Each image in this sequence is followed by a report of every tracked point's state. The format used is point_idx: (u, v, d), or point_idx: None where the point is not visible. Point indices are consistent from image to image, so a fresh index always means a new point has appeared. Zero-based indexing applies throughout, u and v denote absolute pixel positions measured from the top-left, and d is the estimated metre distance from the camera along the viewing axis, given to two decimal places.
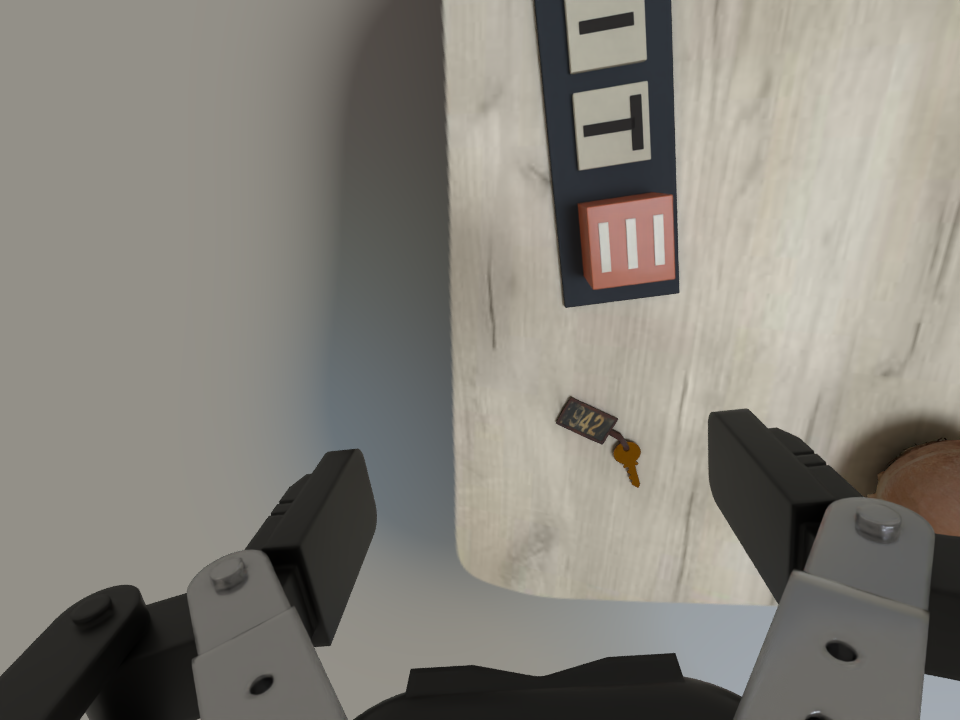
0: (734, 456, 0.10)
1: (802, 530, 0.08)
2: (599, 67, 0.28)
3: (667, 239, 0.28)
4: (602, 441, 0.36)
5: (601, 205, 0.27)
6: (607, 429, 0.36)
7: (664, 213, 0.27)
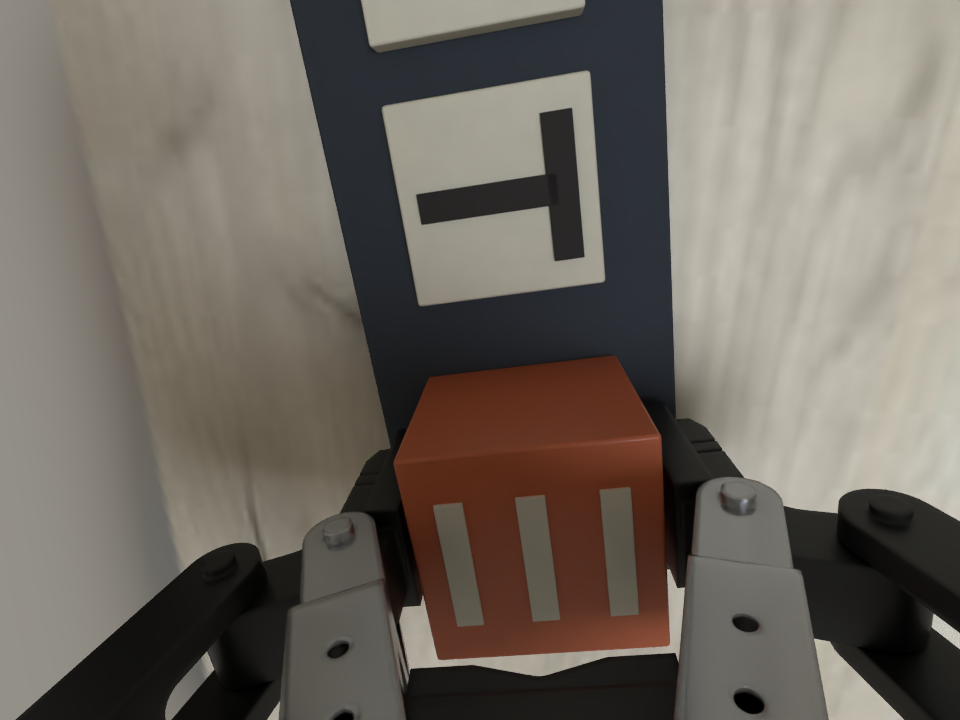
0: None
1: (684, 507, 0.09)
2: (448, 30, 0.10)
3: (645, 553, 0.09)
4: None
5: (439, 456, 0.09)
6: None
7: (634, 485, 0.09)
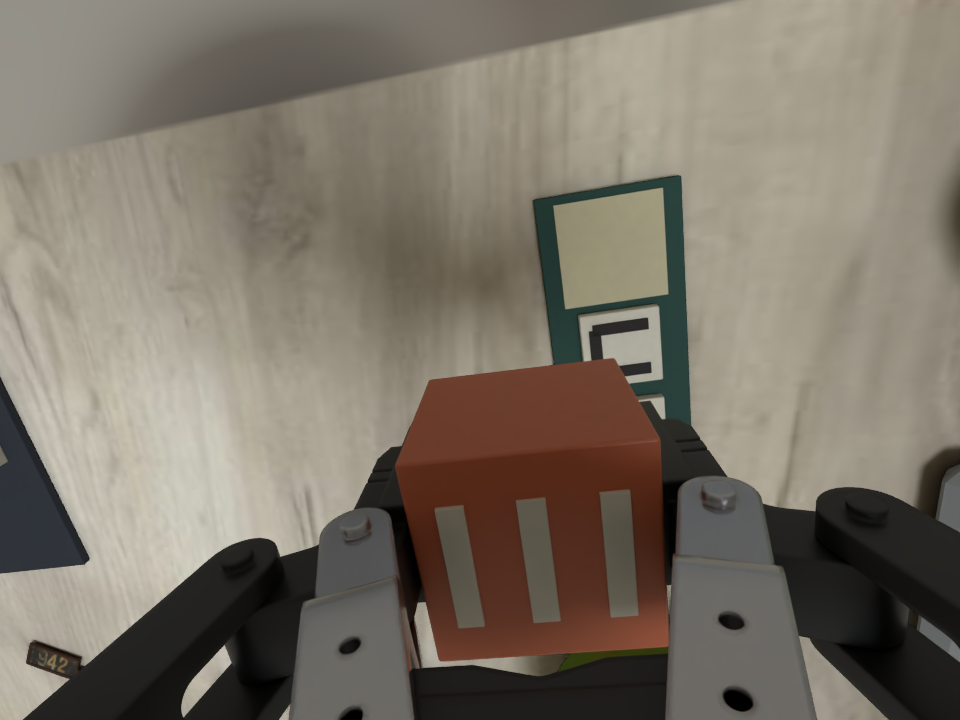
0: None
1: (667, 505, 0.09)
2: None
3: (645, 555, 0.09)
4: None
5: (440, 459, 0.09)
6: (73, 668, 0.38)
7: (633, 487, 0.09)
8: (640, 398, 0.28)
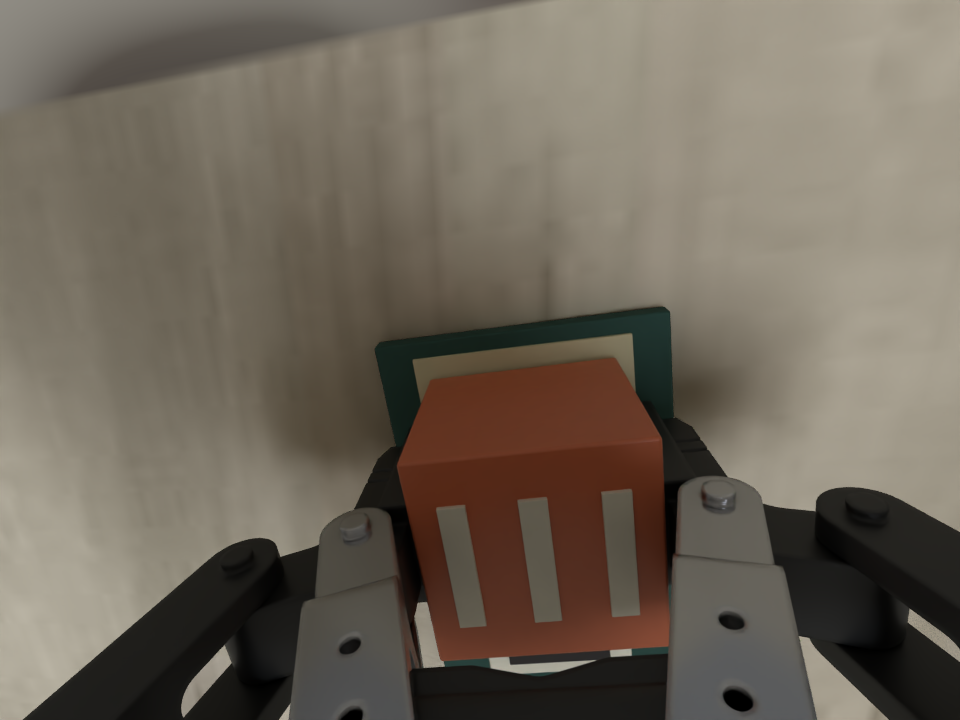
0: None
1: (667, 505, 0.09)
2: None
3: (646, 554, 0.09)
4: None
5: (442, 459, 0.09)
6: None
7: (635, 486, 0.09)
8: None
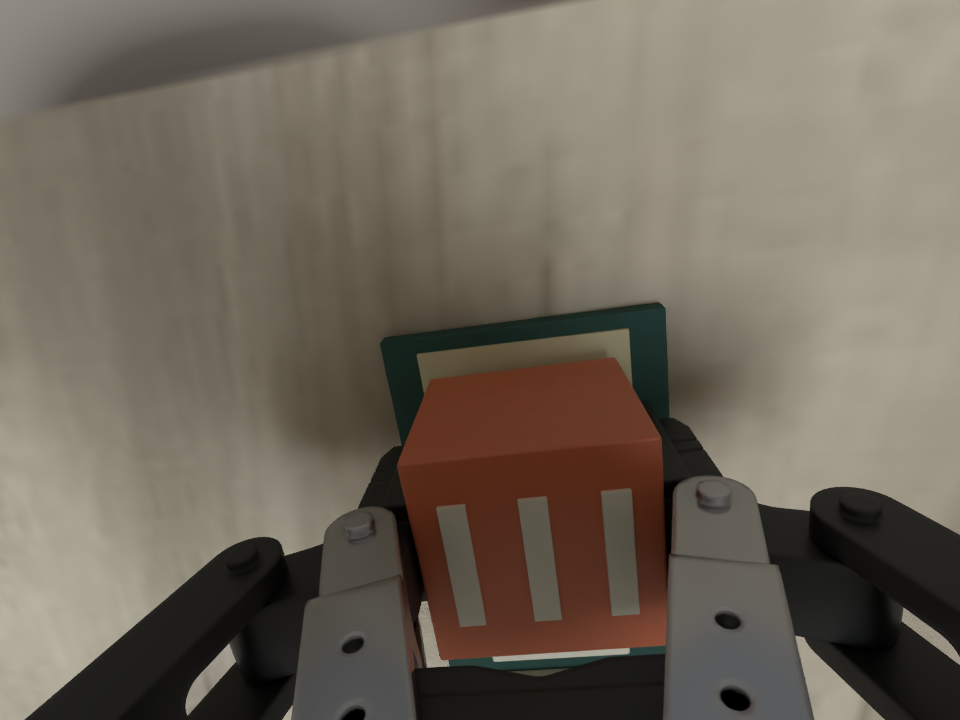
0: None
1: None
2: None
3: (646, 553, 0.09)
4: None
5: (442, 458, 0.09)
6: None
7: (634, 485, 0.09)
8: None
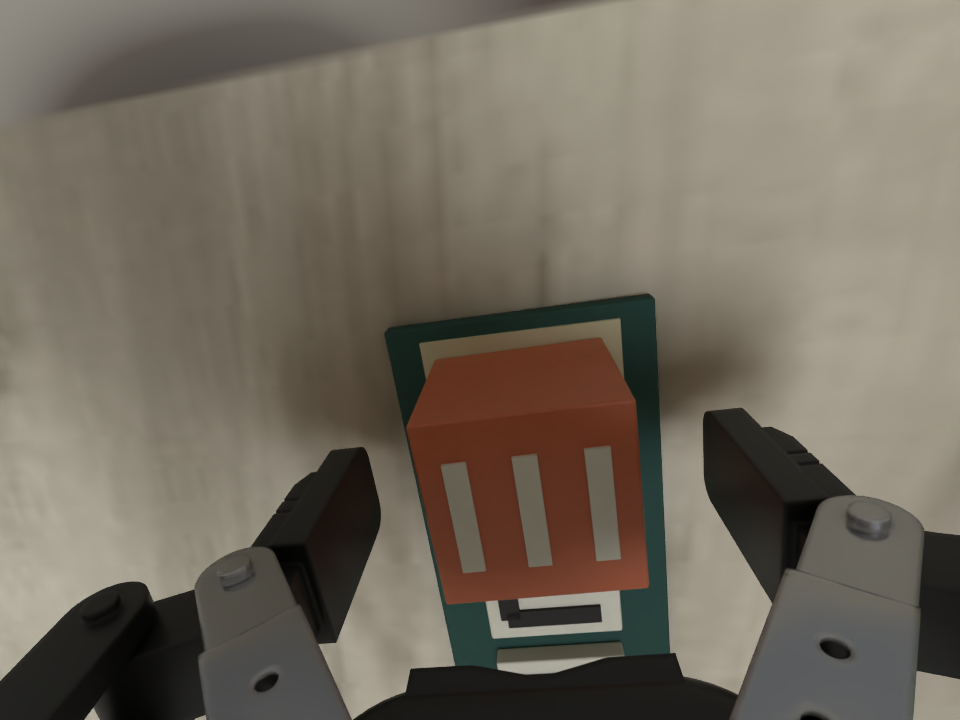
0: (728, 455, 0.10)
1: (794, 528, 0.08)
2: None
3: (625, 504, 0.10)
4: None
5: (445, 421, 0.10)
6: None
7: (613, 443, 0.10)
8: (584, 653, 0.17)
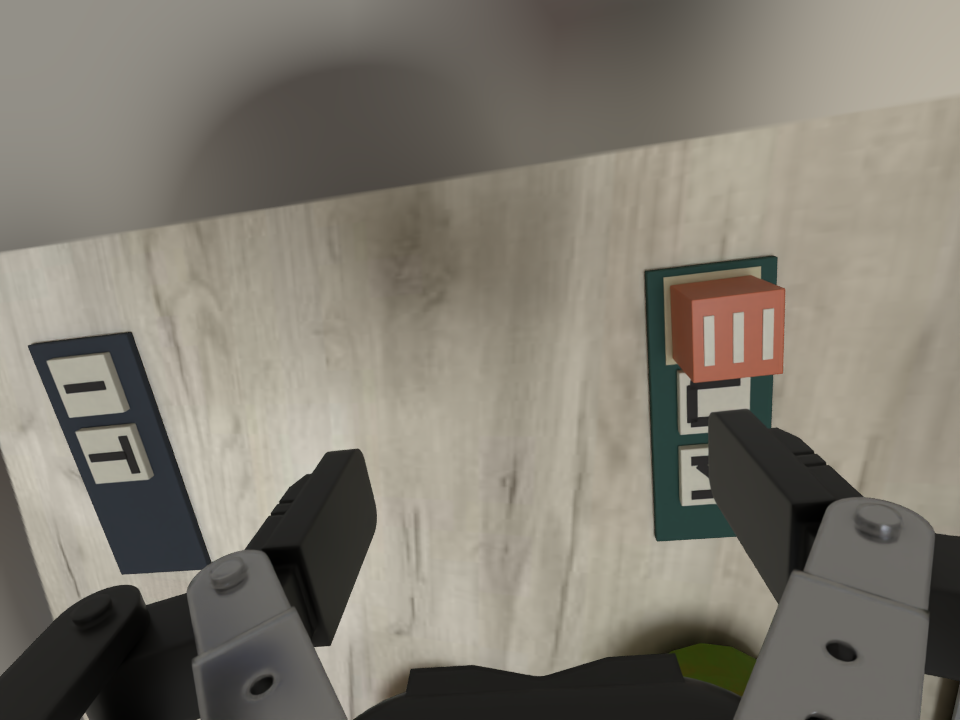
0: (734, 456, 0.10)
1: (802, 530, 0.08)
2: (89, 415, 0.35)
3: (777, 333, 0.26)
4: None
5: (707, 298, 0.26)
6: None
7: (774, 307, 0.26)
8: None
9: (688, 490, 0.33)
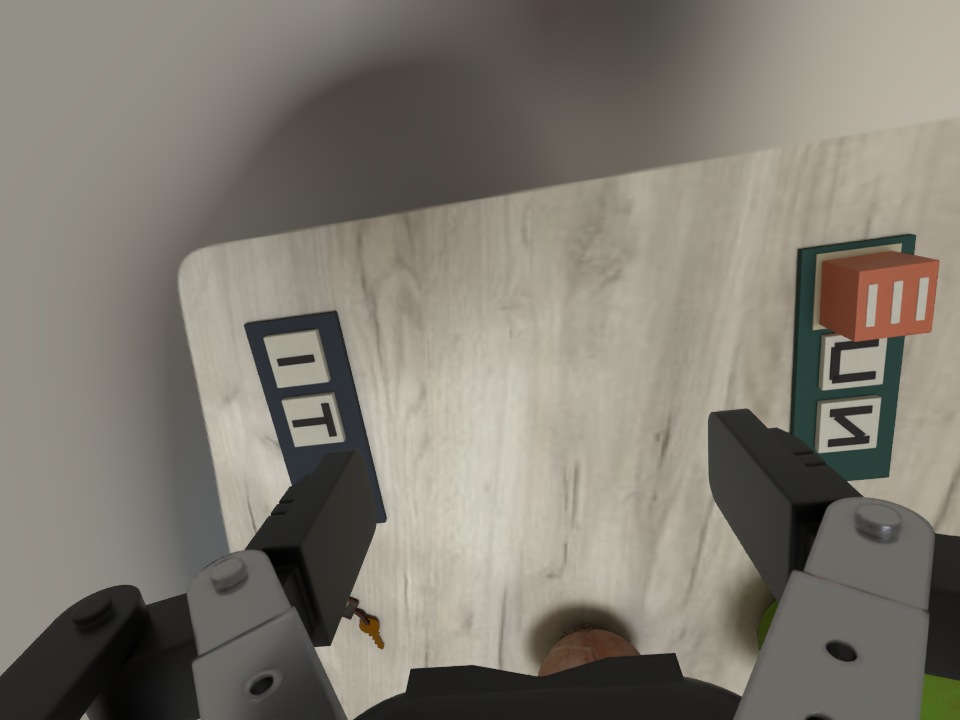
0: (734, 456, 0.10)
1: (802, 530, 0.08)
2: (296, 385, 0.40)
3: (929, 298, 0.31)
4: (350, 617, 0.48)
5: (872, 269, 0.31)
6: (352, 609, 0.47)
7: (929, 276, 0.31)
8: (861, 398, 0.37)
9: (825, 439, 0.38)
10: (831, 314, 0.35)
